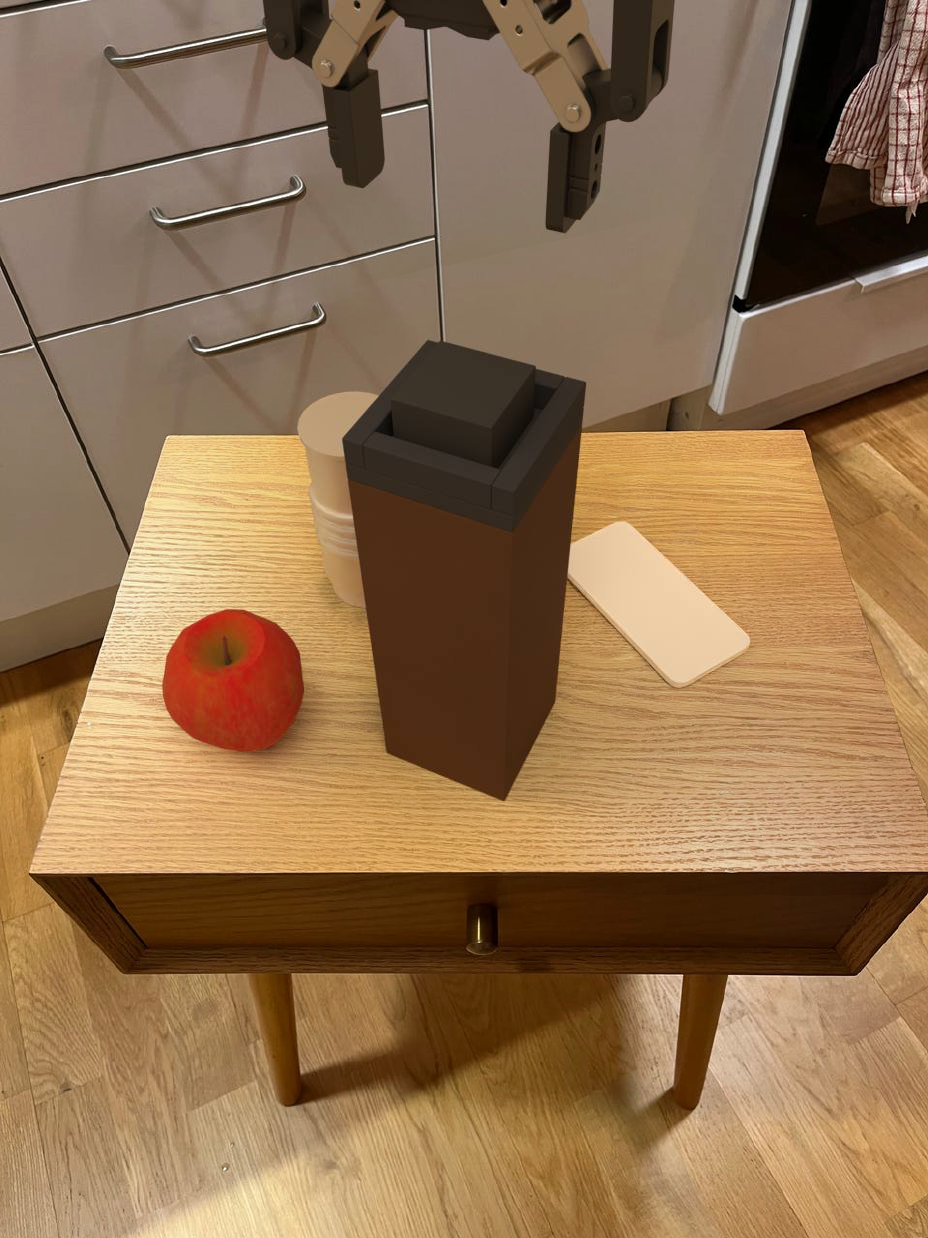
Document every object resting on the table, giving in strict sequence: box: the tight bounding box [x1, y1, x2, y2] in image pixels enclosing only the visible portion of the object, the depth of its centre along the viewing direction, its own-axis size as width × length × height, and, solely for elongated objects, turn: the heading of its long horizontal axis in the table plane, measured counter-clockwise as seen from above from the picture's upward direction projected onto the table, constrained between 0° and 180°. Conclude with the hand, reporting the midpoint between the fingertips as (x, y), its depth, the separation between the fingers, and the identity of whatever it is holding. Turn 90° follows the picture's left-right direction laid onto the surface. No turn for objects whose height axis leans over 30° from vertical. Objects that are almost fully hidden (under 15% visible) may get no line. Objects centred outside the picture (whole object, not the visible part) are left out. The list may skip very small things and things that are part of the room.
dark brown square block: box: [391, 340, 537, 469], centre depth 45 cm, size 5×5×3 cm
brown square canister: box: [342, 339, 587, 802], centre depth 55 cm, size 9×9×26 cm
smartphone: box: [567, 520, 751, 689], centre depth 72 cm, size 7×1×15 cm
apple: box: [161, 608, 305, 753], centre depth 61 cm, size 9×8×11 cm
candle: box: [296, 391, 379, 609], centre depth 68 cm, size 7×7×15 cm
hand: (462, 200), depth 37 cm, fingers open, 8 cm apart
